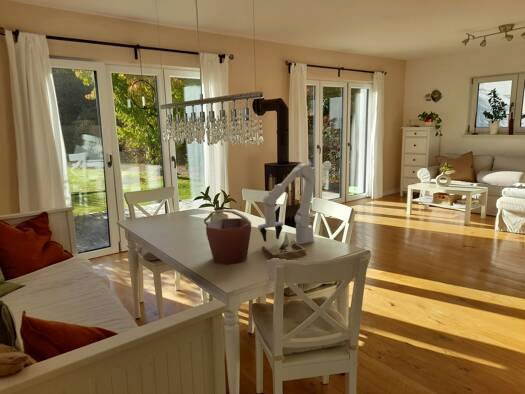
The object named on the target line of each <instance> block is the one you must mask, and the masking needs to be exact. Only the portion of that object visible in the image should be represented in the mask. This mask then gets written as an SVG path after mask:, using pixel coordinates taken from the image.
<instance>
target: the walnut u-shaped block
mask: <svg viewBox="0 0 525 394" xmlns="http://www.w3.org/2000/svg"><path fill="white" fill-rule="evenodd" d="M293 242H294V241H293V240H292V241H290V244H291V243H293ZM292 248H293V250H294V251H285V252H281V253H280V252H279V253H273V252H272V251H271V250H270V249H268V248H267V247H265V246H264V245H262V246H261V252H262V253H263V255H265V256H266V257H268V258H269V259H271V258H279V259H281V260H286V259H290V257H291V258H296V257H295V256H297V257H300V255H302V256H306V255H307V252H306V251H307V249H306V248H304V247H303V246H301V244H299V243H296V244H294V245H292ZM305 254H306V255H305ZM285 258H286V259H285Z"/></svg>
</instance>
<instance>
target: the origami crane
mask: <svg viewBox="0 0 525 394" xmlns="http://www.w3.org/2000/svg"><path fill="white" fill-rule="evenodd" d="M289 241H290V240H289V238H288V234H287V232H285V236H284V239H283V242H282V244H281V245H280V247H279V248H278V251H280V252H279V253H283V251H285V252H289V251H294V250H295V249H294V248H292V245H294V244H298V243H297V241H293V243H291V242H289Z"/></svg>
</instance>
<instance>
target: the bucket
mask: <svg viewBox="0 0 525 394" xmlns="http://www.w3.org/2000/svg"><path fill="white" fill-rule="evenodd" d="M217 213H218V214H219V213H229V214H234V216H235V215H236V216H237V217H238V218H236V217H234V218H233V217H232V218H231V217H230V218H227V217H226V218H225V217H224V218H220V219H219V218H218V219H216V220H212V221H208V220H209V219H210V218H212V216H214V215H215V214H217ZM203 223H204V224H205V232H206V236H207V242H208V245H209V248H210V252H211V256H212V258H213V262H214V264H219V265H224V266H229V265H236V264H237V265H238V264H242V263H243V262H244V261H245V260H246V259H248V252H249V246H250V239H251V234H252V233H251V232H252V221H251V220H250V219H249V218H248V216H245V215H244V214H242V213H241V212H238V211H236V210H231V209H220V210H215V211H211V212H210V213H209V214H208V215H207V217H205V218H204V219H203Z"/></svg>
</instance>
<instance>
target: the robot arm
mask: <svg viewBox="0 0 525 394" xmlns="http://www.w3.org/2000/svg"><path fill="white" fill-rule="evenodd" d="M298 178H302V179H303V180H304V182H305V183H304V188H303V192H302V194H301V195H302V196H301V199H300V200H301V201H300V205H299V208H298V209H297V211H296V214H295V215H294V219H293V220H294V222H295V239H292V241H293V242H295V241H297V243H296V244H298V245H303V244H308V243H313V242H315V240H314V228H313V226H312V225H311V220H310V208H311V202H312V197H313V195H314V194H313V193H314V191H315V190H314V189H315V185H316V176H315V173H314V169H313V167H312V166H311V165H310V164H305V163H299V164H297V165H296V166H295V167H294V168H293V169H292V170H291V172H290V173H289V174H288V175H287V176H286V177H285V179H284V180H283V181H282V182H281V183H278V184H274V185H273V188H272V189H271V191H268V194H265V196H263V199H262V202H263V203H264V219H265V220H264V221H265V222H264V223H262V224H258V225H257V230H259V232H260V233H261V235H262V238H263V241H264V242H267V232H268V231H267V230H266V229H271V228H274V229H275V238H276V240H279V238H280V236H281V232H282V230H283V227H284V222H283V221H277V220H276V219H277V218H276V217H277V216H276V203H277V200H278V199H279V198H280V197H281V196H282V195H283V194H284V193H285V192H286V188H287V187H288V186H289V185H291V183H293V181H295V180H296V179H298Z"/></svg>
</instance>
